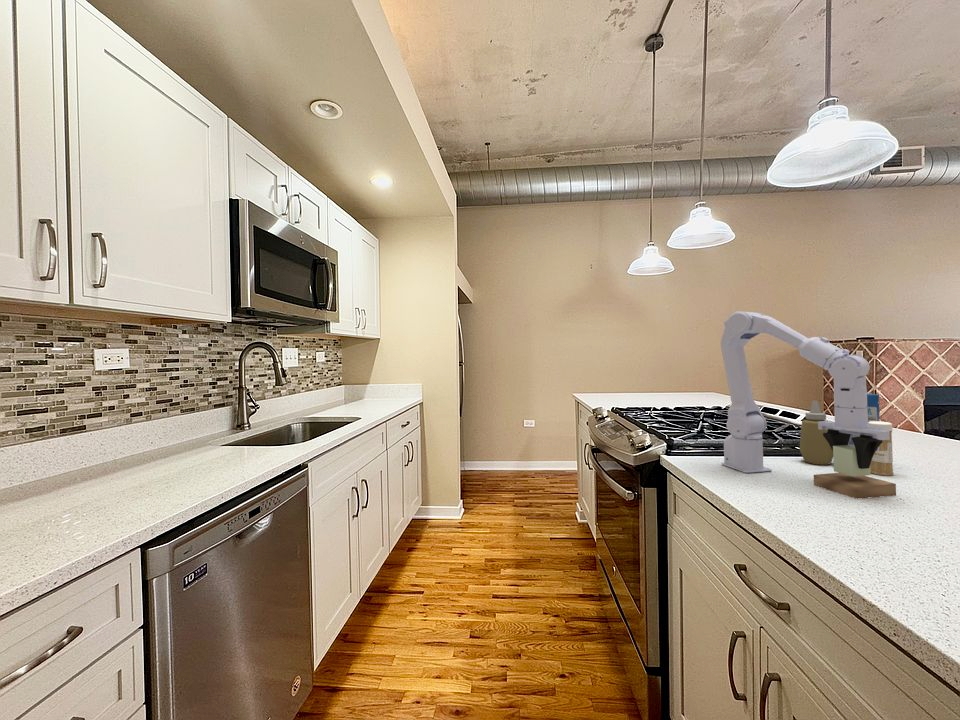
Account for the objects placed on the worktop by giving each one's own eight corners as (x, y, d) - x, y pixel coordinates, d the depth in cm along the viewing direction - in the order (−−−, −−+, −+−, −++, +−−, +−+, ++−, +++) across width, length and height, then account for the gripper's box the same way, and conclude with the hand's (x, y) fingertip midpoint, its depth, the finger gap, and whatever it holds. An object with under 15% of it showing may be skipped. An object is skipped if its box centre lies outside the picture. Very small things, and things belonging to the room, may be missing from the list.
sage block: (833, 471, 97) (832, 445, 97) (850, 469, 97) (849, 444, 97) (853, 476, 92) (852, 450, 92) (870, 475, 93) (869, 448, 93)
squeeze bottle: (793, 459, 123) (791, 399, 123) (822, 459, 122) (820, 399, 122) (811, 466, 115) (809, 402, 115) (843, 466, 114) (840, 402, 114)
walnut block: (814, 487, 99) (813, 474, 99) (849, 483, 100) (849, 471, 100) (857, 500, 89) (856, 487, 89) (896, 497, 90) (895, 483, 90)
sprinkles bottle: (865, 472, 107) (864, 421, 107) (874, 470, 109) (873, 420, 109) (888, 477, 103) (886, 424, 103) (897, 474, 105) (895, 422, 105)
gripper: (806, 404, 101) (808, 458, 101) (868, 411, 87) (870, 475, 87) (831, 403, 102) (833, 457, 102) (897, 410, 88) (899, 472, 88)
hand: (852, 465), depth 95 cm, fingers closed on sage block, 4 cm apart
